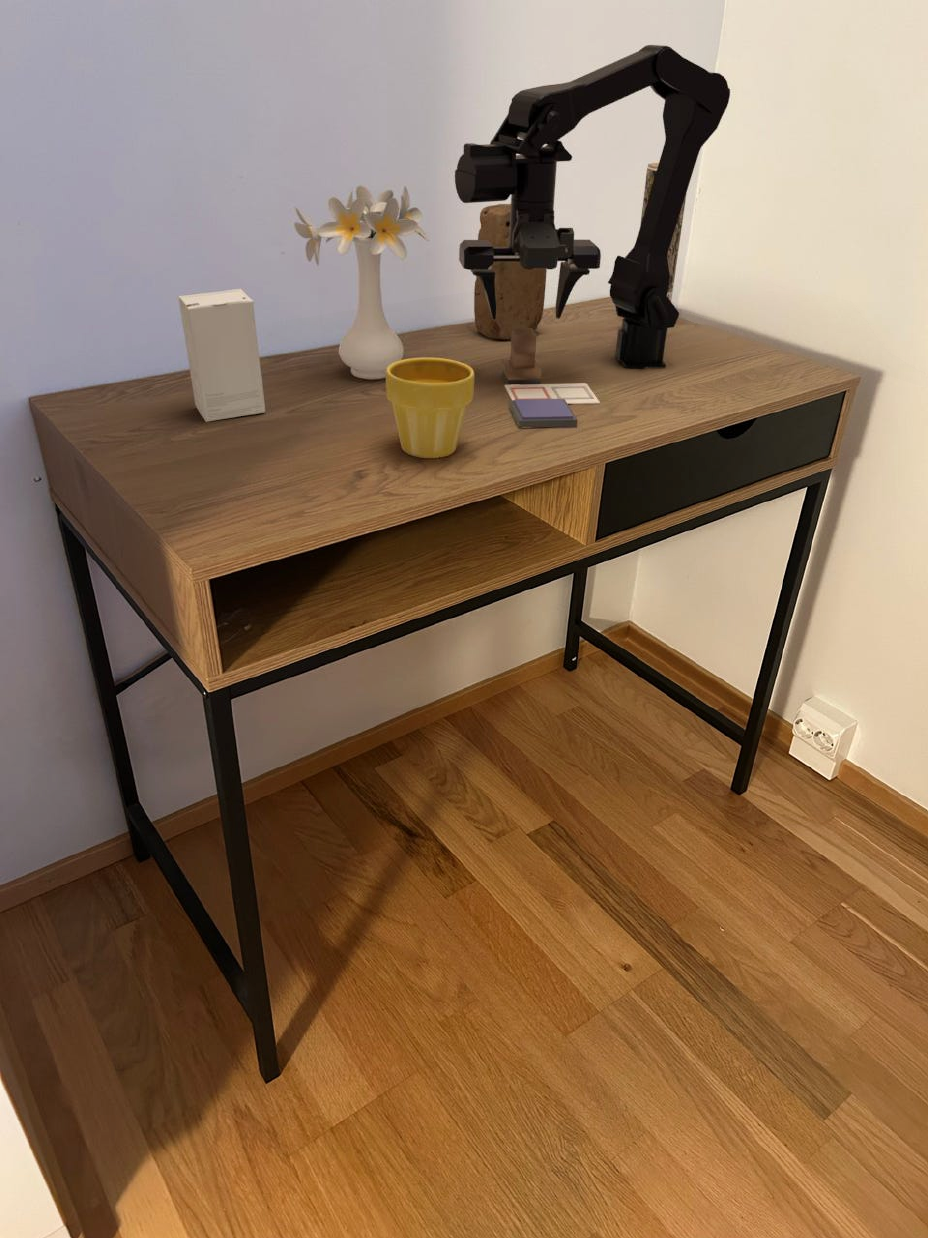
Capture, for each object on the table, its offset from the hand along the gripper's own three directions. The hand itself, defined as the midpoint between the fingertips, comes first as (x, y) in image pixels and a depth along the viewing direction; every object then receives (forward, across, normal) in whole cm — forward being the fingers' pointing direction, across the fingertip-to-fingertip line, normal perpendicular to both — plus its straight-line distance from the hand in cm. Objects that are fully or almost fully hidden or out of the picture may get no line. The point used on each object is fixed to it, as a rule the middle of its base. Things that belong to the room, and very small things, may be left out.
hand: (525, 318), depth 134 cm
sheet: (+9, +3, -7) cm, 12 cm away
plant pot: (+9, -16, -25) cm, 31 cm away
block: (+9, +2, +23) cm, 25 cm away
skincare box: (+9, -41, -11) cm, 44 cm away
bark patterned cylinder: (+9, +28, +29) cm, 41 cm away
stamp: (+9, 0, 0) cm, 9 cm away
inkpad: (+9, 0, -16) cm, 18 cm away
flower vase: (+9, -22, +3) cm, 24 cm away
